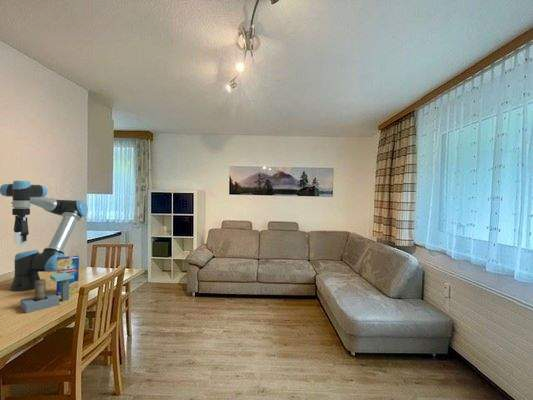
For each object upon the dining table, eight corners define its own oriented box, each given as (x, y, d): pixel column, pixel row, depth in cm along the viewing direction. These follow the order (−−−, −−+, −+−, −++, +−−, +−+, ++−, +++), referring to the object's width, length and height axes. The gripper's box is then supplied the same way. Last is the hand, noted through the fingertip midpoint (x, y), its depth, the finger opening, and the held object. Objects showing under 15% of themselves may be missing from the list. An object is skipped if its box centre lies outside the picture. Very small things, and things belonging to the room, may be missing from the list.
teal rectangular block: (49, 300, 157) (50, 274, 157) (65, 297, 163) (65, 272, 163) (54, 305, 152) (55, 278, 152) (70, 301, 158) (71, 275, 158)
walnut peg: (33, 305, 150) (34, 280, 150) (43, 303, 153) (44, 278, 153) (36, 308, 147) (36, 282, 147) (46, 305, 151) (46, 280, 150)
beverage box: (78, 292, 171) (79, 257, 171) (56, 296, 165) (56, 259, 164) (77, 289, 177) (78, 255, 176) (56, 292, 170) (57, 257, 170)
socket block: (20, 306, 148) (20, 299, 148) (52, 299, 159) (52, 292, 159) (26, 313, 141) (26, 305, 141) (59, 304, 152) (59, 297, 152)
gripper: (7, 206, 160) (6, 243, 160) (18, 209, 145) (17, 249, 145) (24, 206, 166) (23, 241, 166) (36, 209, 151) (35, 247, 151)
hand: (20, 245), depth 156 cm, fingers open, 13 cm apart
